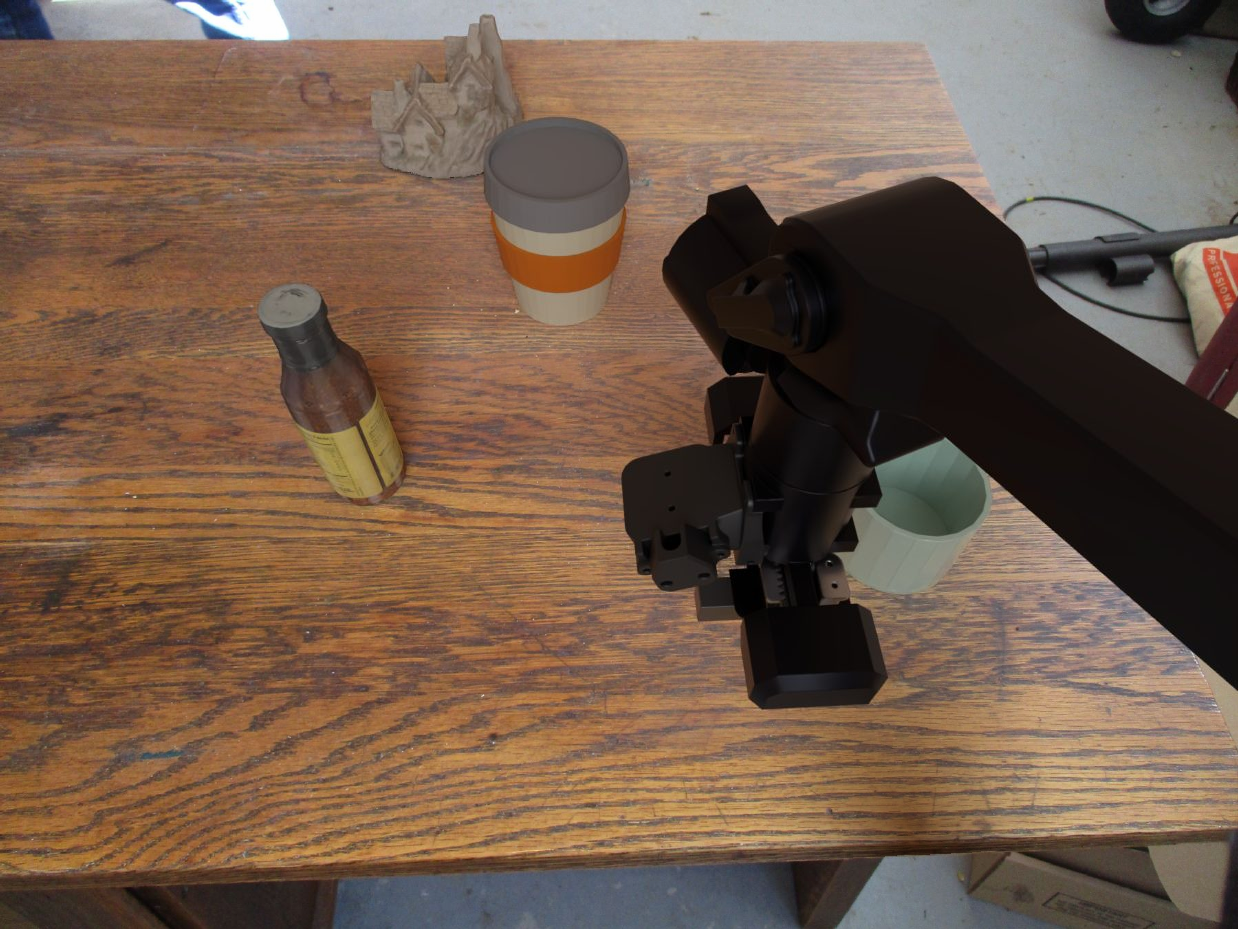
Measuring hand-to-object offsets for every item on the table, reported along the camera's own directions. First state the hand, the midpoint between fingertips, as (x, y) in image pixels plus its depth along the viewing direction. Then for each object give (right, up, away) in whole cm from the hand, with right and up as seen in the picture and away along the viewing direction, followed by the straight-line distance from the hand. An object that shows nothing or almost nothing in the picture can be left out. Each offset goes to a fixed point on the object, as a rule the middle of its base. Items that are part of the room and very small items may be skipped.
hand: (759, 596), depth 50 cm
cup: (+13, +2, +15) cm, 20 cm away
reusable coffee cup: (-14, +25, +31) cm, 42 cm away
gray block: (0, -1, +1) cm, 1 cm away
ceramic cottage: (-27, +46, +46) cm, 70 cm away
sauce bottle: (-29, +7, +18) cm, 35 cm away
